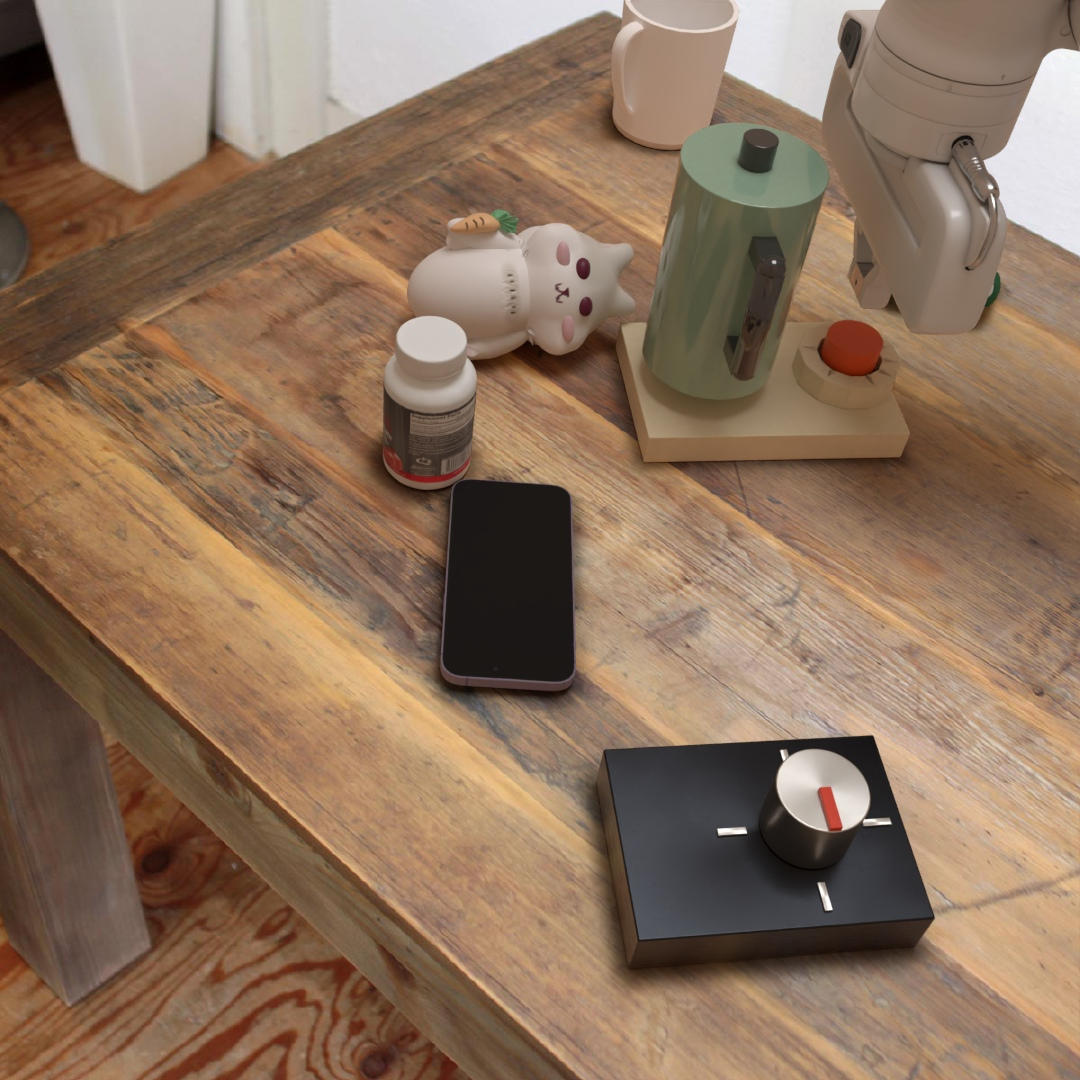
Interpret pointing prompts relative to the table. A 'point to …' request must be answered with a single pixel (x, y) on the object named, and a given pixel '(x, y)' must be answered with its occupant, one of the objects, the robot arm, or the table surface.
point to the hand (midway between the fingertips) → (865, 294)
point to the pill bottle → (429, 404)
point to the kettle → (731, 258)
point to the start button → (852, 347)
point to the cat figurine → (521, 284)
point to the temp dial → (814, 808)
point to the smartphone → (509, 587)
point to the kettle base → (769, 407)
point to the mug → (669, 67)
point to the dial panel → (747, 859)
